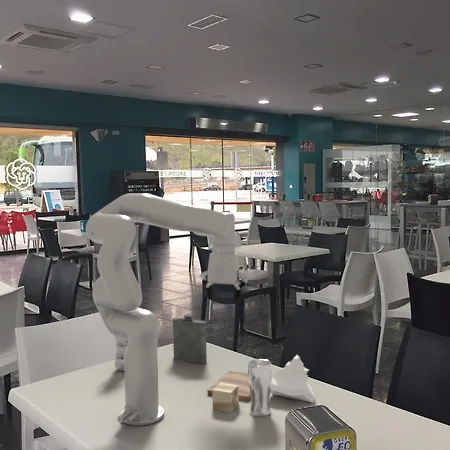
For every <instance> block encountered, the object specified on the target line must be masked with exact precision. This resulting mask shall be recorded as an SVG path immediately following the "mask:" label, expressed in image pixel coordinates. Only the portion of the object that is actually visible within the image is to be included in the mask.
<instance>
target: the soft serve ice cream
mask: <svg viewBox="0 0 450 450" xmlns="http://www.w3.org/2000/svg"><path fill="white" fill-rule="evenodd" d="M308 372H309V369H308V368H306V367H305V366H304V363H303V362H302V360H301V357H300V355H298V354H296V355H295V356H294V357H293V358H292V360H290V361H288V362H287V363H286V364H285V366H284V367H282V368H280V369H278V370H277V372H275V374H274V377H272V383H271V390H270V394H271V395H274V396H277V397H284V398H288V399H293V400H298V401H302V402H307V403H312V404H314V402H315V395H314V394H315V393H314V392H313V388H312V386H311V385H310V384H309V383H308V378H309V375H308Z"/></svg>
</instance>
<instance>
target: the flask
mask: <svg viewBox="0 0 450 450" xmlns="http://www.w3.org/2000/svg"><path fill="white" fill-rule="evenodd" d="M172 340H173V346H172V347H173V359H174V360H175V359H176V361H179V360H180V361H179V362H183V361H184V363H188V362H189V363H191V364H195V363H196V364H197V365H206V364H207V363H208V362H207V361H208V359H207V321H205V320H196V319H193V314H191V313H186V314H184V315H183V317H172Z"/></svg>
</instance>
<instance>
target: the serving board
mask: <svg viewBox="0 0 450 450" xmlns="http://www.w3.org/2000/svg"><path fill="white" fill-rule="evenodd" d="M220 383H226V384H233V385H239V401H246V402H249V401H251V395H250V390H249V384H248V372H239V371H234V370H233V371H232V370H228V372H226V373H225V374H224V375H223V376H222V377H221V378H219V379H218V380H216V382H215V383H214V384H213V385H211V386H210V387H209V388H208V389H207V395H209V396H213V395H212V390H213V389H214V388H215V387H216V386H217V385H218V384H220Z"/></svg>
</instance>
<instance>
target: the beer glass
mask: <svg viewBox="0 0 450 450" xmlns="http://www.w3.org/2000/svg"><path fill="white" fill-rule="evenodd" d="M247 373H248V384H249V390H250V395H251V399H250V406H249V408H250V409H249V413H250V415H252V416H254V417H256V418H257V417H259V418H263V417H267V416H270V415H271V407H270V397H271V395H270V394H271V393H270V390H271V383H272V378H273V375H272V362H271V361H270V360H268V359H264V358H255V359H252V360H249V361H248V368H247Z"/></svg>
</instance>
